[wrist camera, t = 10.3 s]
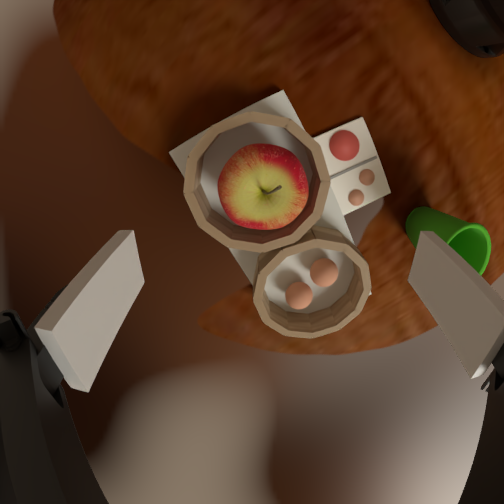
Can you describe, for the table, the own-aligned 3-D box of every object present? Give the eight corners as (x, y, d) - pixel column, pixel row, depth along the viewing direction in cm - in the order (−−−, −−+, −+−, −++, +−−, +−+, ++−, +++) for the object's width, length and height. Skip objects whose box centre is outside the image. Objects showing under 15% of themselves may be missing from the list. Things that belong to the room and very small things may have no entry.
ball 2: (321, 247, 34) (328, 261, 31) (339, 263, 35) (347, 278, 32) (302, 266, 35) (306, 282, 32) (320, 281, 36) (326, 297, 33)
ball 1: (297, 271, 36) (300, 287, 33) (315, 286, 37) (320, 302, 34) (278, 289, 37) (280, 305, 34) (297, 302, 38) (300, 319, 35)
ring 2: (308, 202, 31) (315, 214, 28) (379, 269, 36) (390, 286, 32) (232, 282, 36) (230, 301, 33) (307, 332, 41) (311, 351, 37)
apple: (315, 171, 30) (341, 197, 21) (266, 226, 33) (271, 271, 24) (256, 123, 27) (258, 126, 19) (208, 183, 31) (189, 214, 22)
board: (171, 150, 30) (168, 152, 29) (281, 90, 27) (283, 90, 26) (282, 327, 42) (283, 332, 40) (368, 289, 38) (371, 293, 37)
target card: (308, 140, 29) (309, 140, 29) (361, 117, 28) (363, 117, 27) (341, 214, 33) (343, 216, 33) (389, 191, 32) (391, 193, 31)
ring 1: (248, 88, 26) (247, 83, 22) (344, 172, 30) (356, 180, 26) (169, 187, 31) (158, 196, 27) (263, 257, 35) (264, 274, 31)
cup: (385, 250, 36) (422, 297, 26) (401, 186, 31) (450, 218, 22) (433, 254, 36) (473, 296, 26) (450, 197, 32) (500, 228, 22)
